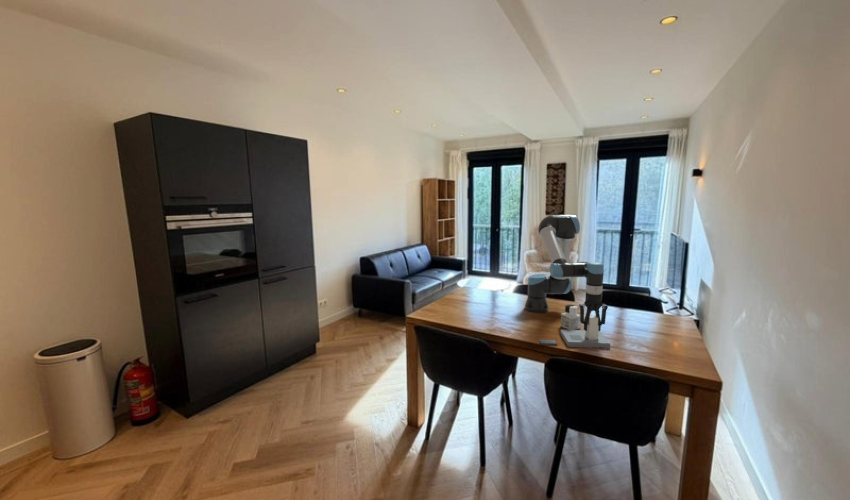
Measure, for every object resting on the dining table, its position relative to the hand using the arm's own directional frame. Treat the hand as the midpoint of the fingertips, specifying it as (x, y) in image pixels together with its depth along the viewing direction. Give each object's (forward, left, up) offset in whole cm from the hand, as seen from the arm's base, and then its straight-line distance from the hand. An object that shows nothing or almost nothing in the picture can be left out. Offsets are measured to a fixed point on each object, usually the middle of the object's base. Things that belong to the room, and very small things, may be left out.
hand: (591, 336), depth 177 cm
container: (-21, -5, -4) cm, 21 cm away
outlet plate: (-2, -3, -3) cm, 5 cm away
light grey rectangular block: (0, 0, -1) cm, 1 cm away
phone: (+3, -22, -3) cm, 22 cm away
